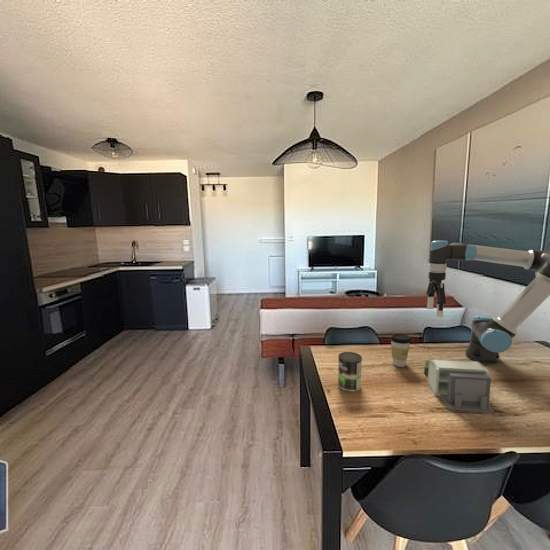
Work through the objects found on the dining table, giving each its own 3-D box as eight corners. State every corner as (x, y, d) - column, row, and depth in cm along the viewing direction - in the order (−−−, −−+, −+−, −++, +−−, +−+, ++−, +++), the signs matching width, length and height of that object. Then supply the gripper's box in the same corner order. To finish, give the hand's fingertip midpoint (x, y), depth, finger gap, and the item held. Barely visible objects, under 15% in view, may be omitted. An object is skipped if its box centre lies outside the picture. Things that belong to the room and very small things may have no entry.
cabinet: (475, 386, 135) (478, 361, 133) (499, 413, 116) (503, 384, 114) (427, 383, 138) (429, 358, 136) (443, 409, 119) (445, 381, 117)
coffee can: (346, 393, 132) (347, 363, 129) (333, 382, 141) (333, 354, 139) (366, 388, 136) (367, 358, 133) (352, 378, 145) (352, 350, 143)
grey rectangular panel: (484, 403, 121) (487, 375, 119) (488, 407, 119) (491, 378, 117) (446, 400, 124) (449, 373, 122) (449, 404, 121) (451, 376, 119)
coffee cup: (412, 368, 153) (414, 340, 151) (393, 368, 153) (394, 340, 151) (405, 359, 163) (406, 332, 160) (386, 359, 163) (387, 333, 161)
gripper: (421, 267, 165) (419, 305, 168) (438, 275, 140) (435, 320, 144) (436, 267, 164) (433, 306, 167) (455, 275, 139) (452, 320, 143)
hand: (434, 312), depth 156 cm, fingers open, 13 cm apart
